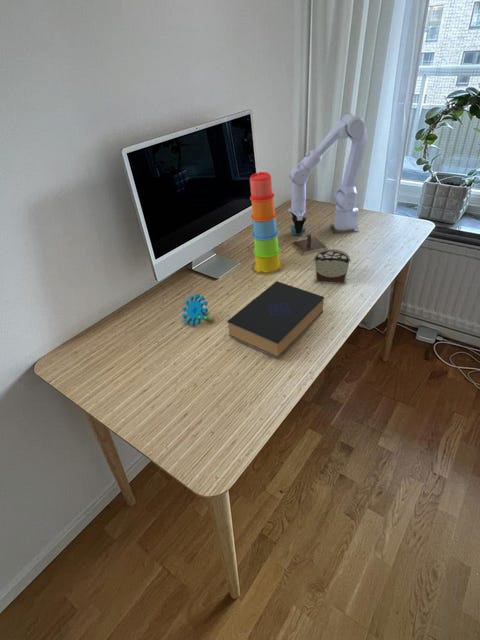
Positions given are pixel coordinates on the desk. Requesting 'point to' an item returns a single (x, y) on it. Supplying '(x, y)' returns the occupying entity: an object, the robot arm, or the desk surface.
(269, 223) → the stacking cups
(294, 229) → the ring
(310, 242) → the ring toss
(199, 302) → the blue knobbed toy
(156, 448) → the desk surface
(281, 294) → the book
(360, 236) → the desk surface
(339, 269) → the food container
